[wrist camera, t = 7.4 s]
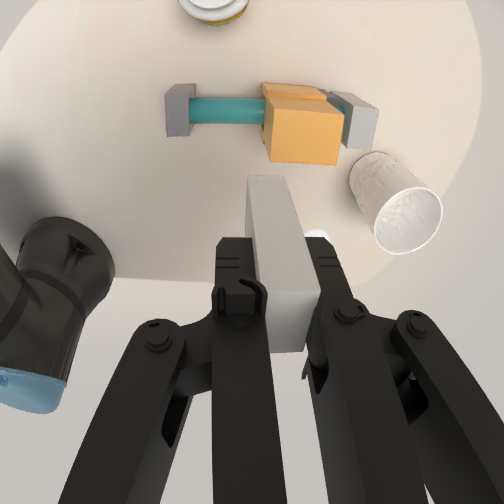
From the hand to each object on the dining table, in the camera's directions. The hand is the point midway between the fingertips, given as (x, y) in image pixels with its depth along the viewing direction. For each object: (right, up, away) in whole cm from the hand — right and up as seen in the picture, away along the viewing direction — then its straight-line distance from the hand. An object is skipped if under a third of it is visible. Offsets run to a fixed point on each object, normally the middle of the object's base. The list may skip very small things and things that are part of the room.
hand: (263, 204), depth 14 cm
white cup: (+14, +7, +22) cm, 27 cm away
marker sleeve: (+3, +12, +15) cm, 20 cm away
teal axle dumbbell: (+1, +13, +17) cm, 21 cm away
